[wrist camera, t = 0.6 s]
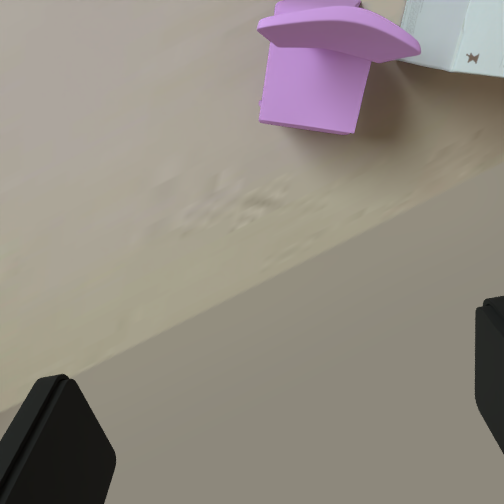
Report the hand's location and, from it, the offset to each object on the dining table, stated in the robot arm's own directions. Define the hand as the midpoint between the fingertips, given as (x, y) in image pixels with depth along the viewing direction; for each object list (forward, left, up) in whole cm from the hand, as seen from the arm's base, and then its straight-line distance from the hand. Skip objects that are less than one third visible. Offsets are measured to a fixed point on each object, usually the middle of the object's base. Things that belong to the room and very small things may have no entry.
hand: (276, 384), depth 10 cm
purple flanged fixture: (-4, +4, -30) cm, 30 cm away
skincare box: (-6, +13, -30) cm, 33 cm away
